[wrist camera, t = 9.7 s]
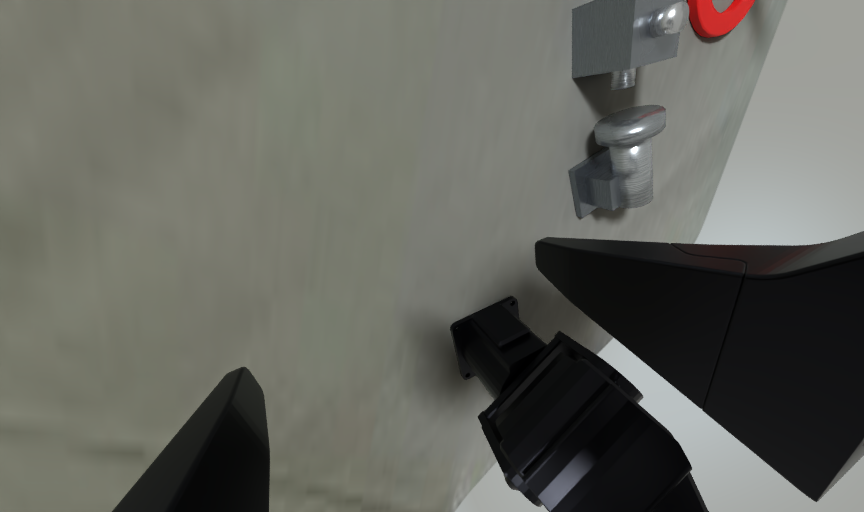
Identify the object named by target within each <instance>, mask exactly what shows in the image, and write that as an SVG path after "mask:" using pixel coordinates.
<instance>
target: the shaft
mask: <svg viewBox="0 0 864 512" xmlns="http://www.w3.org/2000/svg"><path fill="white" fill-rule="evenodd" d="M665 126H666V109H665V108H664V107H662V106H659V105H645V106H638V107H633V108H629V109H625V110H622V111H619V112H616V113H613V114H611V115H609V116H607V117H605V118H603V119H601V120H600V121H598V122H597V123H596V124H595V126H594V132H595V140H596V143H597V144H599V145H601V146H606V147H605V148H603V149H602V150H600V151H599V152H597V153H595V154H594V155H592V156H591V157H589V158H588V159H586V160H584V161H583V162H581V163H580V164H578V165H576V166H575V167H573V168H572V169H570V170H569V176H570V181H571V187H572V193H573V198H574V204H575V209H576V215H577V216H578V217H581V218H583V217H584V216H586V215H587V214H589V213H590V212H592V211H593V210H595V209H596V208H598V207H600V208H603V209H607V210H611V211H614V210H615V209H616V208H618V207H622V208H637V207H641V206H644V205H646V204H648V203H650V202H651V201H652V199H653V169H652V140H651V137H653V136H655V135H657V134H659V133H660V132H661V131H662V130H664V128H665Z"/></svg>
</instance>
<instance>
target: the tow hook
mask: <svg viewBox="0 0 864 512" xmlns="http://www.w3.org/2000/svg"><path fill="white" fill-rule="evenodd" d="M754 1H755V0H734V1H733V3H732V4H731V5H730V6H729V7H728V8H727V9H726V10H725V11H724V12H722V13H719V12H717V11H716V9H715V8H714V6H713V3H712V0H688V6H689V18H690V21H691V23H692V26H693V28H694V30H695V31H696V32H697V33H698V34H699V35H700V36H703V37H707V38H710V37H716V36H720V35H724V34H726V33H727V32H729V31H730V30H732V29H733V28H734V27H735V26H736V25H737V24H738V23H739V22H740V21H741V20H742V19H743V18H744V17H745V15H746V14H747V12H748V11H749V9H750V8H751V6H752V5H753V3H754Z"/></svg>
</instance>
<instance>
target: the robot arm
mask: <svg viewBox="0 0 864 512" xmlns="http://www.w3.org/2000/svg"><path fill="white" fill-rule="evenodd" d="M535 260H536V266H537V268H538V270H539V271H540V272H541V273H542V274H543V275H544V276H545V277H546V278H547V279H548V280H549V281H550V282H551V283H552V284H553V285H554V286H555V287H556V288H557V289H558V290H559V291H560V292H561V293H562V294H563V295H564V296H565V297H566V298H567V299H568V300H569V301H570V302H572V303H573V304H574V305H575V306H576V307H577V308H579V309H580V310H581V311H582V312H584V313H585V314H586V315H587V316H588V317H590V318H591V319H592V320H593V321H595V322H596V323H597V324H598V325H599V326H601V327H602V328H603V329H604V330H605V331H607V332H608V333H609V334H610V335H612V336H613V337H614V338H615V339H617V340H618V341H619V342H620V343H621V344H623V345H624V346H625V347H626V348H628V349H629V350H630V351H631V352H632V353H633V354H635V355H636V356H637V357H639V358H640V359H641V360H642V361H643V362H644V363H646V364H647V365H648V366H650V367H651V368H652V369H653V370H654V371H655V372H657V373H658V374H659V375H660V376H662V377H663V378H664V379H665V380H666V381H668V382H669V383H670V384H671V385H672V386H674V387H675V388H676V389H677V390H679V391H680V392H681V393H682V394H684V395H685V396H686V397H687V398H688V399H690V400H691V401H692V402H693V403H694V404H696V405H697V406H698V407H699V408H701V409H703V411H704V412H705V413H706V414H707V415H709V416H710V417H711V418H712V419H714V420H715V421H716V422H717V423H718V424H720V425H721V426H722V427H723V428H724V429H726V430H727V431H728V432H729V433H731V434H732V435H733V436H734V437H735V438H737V439H738V440H739V441H740V442H742V443H743V444H744V445H745V446H747V447H748V448H749V449H750V450H751V451H753V452H754V453H755V454H756V455H757V456H759V457H760V458H761V459H762V460H763V461H765V462H766V463H767V464H768V465H770V466H771V467H772V468H773V469H774V470H776V471H777V472H778V473H779V474H781V475H782V476H783V477H784V478H785V479H787V480H788V481H789V482H790V483H792V484H793V485H794V486H795V487H796V488H798V489H799V490H800V491H801V492H803V493H804V494H805V495H806V496H808V497H809V498H811V499H812V500H814V501H816V502H817V501H819V500H820V499H821V498H822V497H823V496H824V494H826V493H827V492H828V491H829V489H830V488H832V487H833V486H834V485H835V483H837V481H838V480H839V479H841V478H842V477H843V476H844V474H846V472H847V471H848V470H849V469H850V468H851V467H852V466H853V465H854V464H855V463H856V462H857V461H858V460H859V459H860V458H861V457H862V456H863V455H864V231H863V232H860V233H857V234H854V235H851V236H848V237H845V238H842V239H838V240H835V241H831V242H826V243H820V244H814V245H799V246H780V245H779V246H776V245H707V244H681V243H671V244H669V243H659V242H639V241H618V240H597V239H576V238H555V237H546V238H543V239H541V240H539V241H537V242H536V243H535ZM511 302H512V303H511ZM457 327H458V328H457ZM456 328H457V329H456ZM455 329H456V330H455ZM450 330H451V334H452V339H453V343H454V347H455V351H456V356H457V360H458V364H459V368H460V373H461V376H462V377H463V379H465V380H467V379H470V378H471V377H473V376H475V375H476V376H477V377H478V378H479V380H480V381H481V382H482V384H483V385H484V386H485V388H486V389H487V390H488V392H489V393H490V394H491V396H492V397H493V398H494V400H495V401H494V402H493V403H492V404H491V405H490V406H489V407H488V408H487V409H486V410H485V411H482V412H481V413H480V415H479V416H478V419H479V421H480V423H481V425H482V430H483V432H484V434H485V436H486V438H487V440H488V442H489V444H490V447H491V449H492V451H493V453H494V455H495V457H496V459H497V461H498V463H499V465H500V467H501V469H502V472H503V473H504V477H505V480H506V482H507V484H508V485H509V487H510V488H511V489H513V490H518V491H520V492H522V494H523V495H524V496H525V497H526V498H527V499H529V501H531V502H532V503H533V504H534V505H536V506H538V507H541V506H542V505H544V506H545V507H546V509H547V510H548V511H549V512H709V511H708V510H707V508H706V505H705V503H704V501H703V499H702V497H701V495H700V493H699V490H698V488H697V486H696V484H695V482H694V480H693V477H692V475H691V473H690V471H691V470H692V467H691V464H690V462H689V461H688V459H687V457H686V455H685V453H684V451H683V450H682V448H681V446H680V444H679V443H678V442H677V441H676V440H675V439H674V437H673V435H672V434H671V433H670V432H669V431H668V430H667V429H666V428H665V427H664V426H663V425H662V424H661V423H659V422H658V421H657V420H656V419H655V418H654V417H653V416H651V415H650V414H649V413H648V412H647V411H646V410H645V409H643V408H642V407H641V406H640V405H639V404H638V402H639V401H640V400H641V399H642V398H643V395H642V394H641V393H640V391H639V390H638V389H636V387H635V386H634V385H633V384H632V383H631V382H629V381H628V380H627V379H626V378H625V377H624V376H623V375H622V374H620V373H619V372H618V371H617V370H616V369H614V368H613V367H612V366H611V365H609V364H608V363H607V362H606V361H604V360H603V359H601V358H600V357H599V356H597V355H596V354H594V353H593V352H591V351H590V350H588V349H586V348H585V347H583V346H582V345H580V344H579V343H577V342H576V341H574V340H573V339H571V338H570V337H568V336H567V335H565V334H564V333H562V332H560V331H558V332H557V334H556V335H555V338H554V339H553V340H552V341H551V342H550V343H549V344H548V345H547V344H546V343H544V342H543V341H542V340H541V339H540V338H539V337H537V336H536V335H535V334H534V333H533V332H532V331H530V329H529V328H528V327H527V326H526V325H525V324H524V323H522V322H521V321H520V320H519V312H518V302H517V299H516V298H514V297H513V296H510V297H508V298H506V299H504V300H501V301H499V302H497V303H495V304H493V305H491V306H489V307H487V308H484V309H482V310H480V311H478V312H476V313H474V314H472V315H470V316H467V317H465V318H463V319H461V320H459V321H457V322H455V323H453V324H452V325H451V327H450ZM269 481H270V448H269V437H268V428H267V419H266V409H265V400H264V394H263V391H262V388H261V387H260V385H259V384H258V382H257V381H256V379H255V378H254V376H253V375H252V374H251V372H250V371H249V369H247V368H246V367H241V368H239V369H236V370H234V371H231V372H229V373H227V374H226V375H225V376H224V378H223V379H222V380H221V381H220V382H219V384H218V385H217V386H216V387H215V388H214V390H213V391H212V392H211V393H210V394H209V396H208V397H207V398H206V399H205V400H204V402H203V403H202V404H201V405H200V406H199V408H198V409H197V410H196V411H195V412H194V414H193V415H192V416H191V417H190V418H189V420H188V421H187V422H186V423H185V424H184V426H183V427H182V428H181V429H180V430H179V432H178V433H177V434H176V435H175V436H174V438H173V439H172V440H171V441H170V442H169V444H168V445H167V446H166V447H165V448H164V450H163V451H162V452H161V453H160V454H159V456H158V457H157V458H156V459H155V460H154V462H153V463H152V464H151V465H150V467H149V468H148V469H147V470H146V471H145V473H144V474H143V475H142V476H141V477H140V479H139V480H138V481H137V482H136V483H135V485H134V486H133V487H132V488H131V489H130V491H129V492H128V493H127V494H126V495H125V497H124V498H123V499H122V500H121V501H120V503H119V504H118V505H117V506H116V507H115V509H114V510H113V511H112V512H269Z"/></svg>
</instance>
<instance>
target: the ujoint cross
mask: <svg viewBox="0 0 864 512" xmlns="http://www.w3.org/2000/svg"><path fill="white" fill-rule="evenodd" d="M688 18H689V6H688V4H687V3H686V2H685V1H684V0H594V1H592V2H589V3H587V4H584V5H582V6H579V7H577V8H574V9H572V78H576V77H583V76H589V75H596V74H602V73H609V72H612V75H611V90H618V89H624V88H629V87H633V86H635V76H636V67H640V66H644V65H647V64H651V63H655V62H658V61H662V60H666V59H670V58H673V57H676V56H677V49H678V42H679V35H680V31H682V30H683V29H684V27H685V26H686V24H687V21H688Z"/></svg>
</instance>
